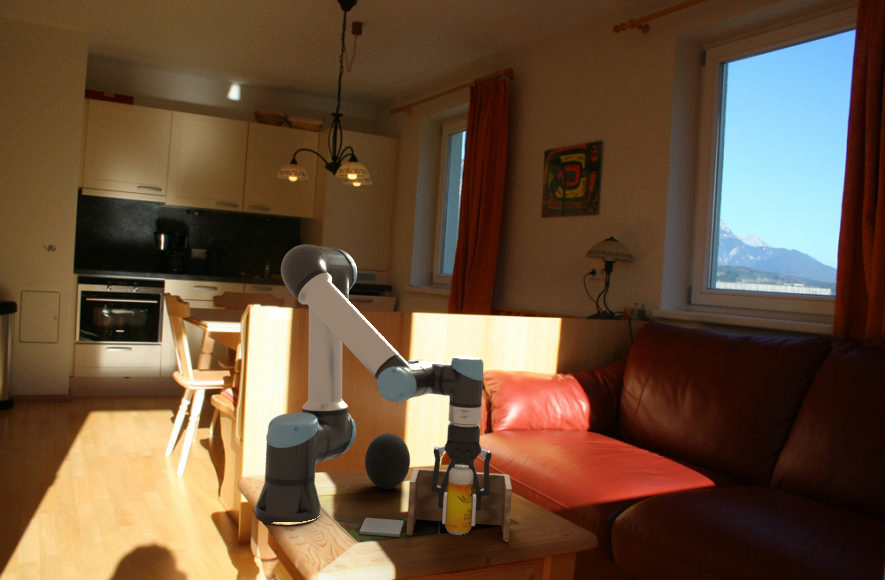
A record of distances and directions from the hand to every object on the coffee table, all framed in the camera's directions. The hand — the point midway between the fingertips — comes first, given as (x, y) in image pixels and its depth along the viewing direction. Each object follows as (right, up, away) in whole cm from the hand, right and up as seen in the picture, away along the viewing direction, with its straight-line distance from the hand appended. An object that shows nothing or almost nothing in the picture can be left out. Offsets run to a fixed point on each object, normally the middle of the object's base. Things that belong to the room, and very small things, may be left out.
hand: (458, 522), depth 160 cm
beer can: (0, -2, 0) cm, 2 cm away
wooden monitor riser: (0, -2, +1) cm, 2 cm away
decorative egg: (-19, -1, +30) cm, 36 cm away
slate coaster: (-18, -1, -1) cm, 18 cm away
